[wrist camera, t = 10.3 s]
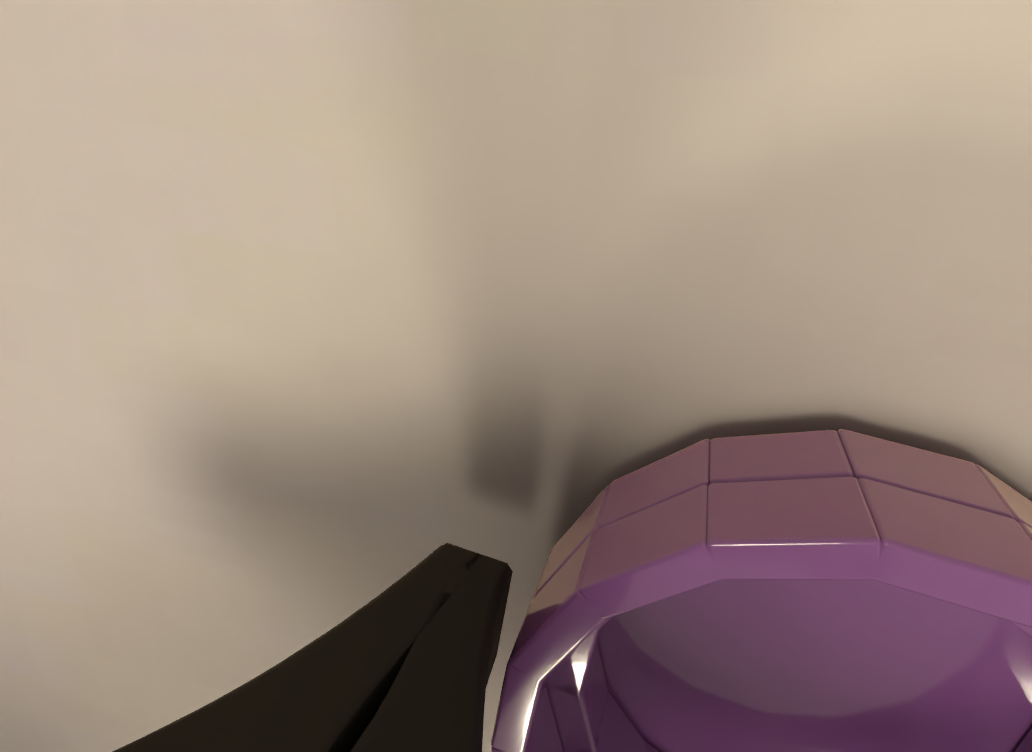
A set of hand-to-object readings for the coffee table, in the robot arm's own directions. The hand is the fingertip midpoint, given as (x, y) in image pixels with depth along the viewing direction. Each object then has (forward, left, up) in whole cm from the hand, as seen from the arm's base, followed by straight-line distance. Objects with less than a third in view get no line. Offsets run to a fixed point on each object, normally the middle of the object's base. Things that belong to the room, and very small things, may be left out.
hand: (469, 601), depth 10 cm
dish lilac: (0, -5, -1) cm, 5 cm away
